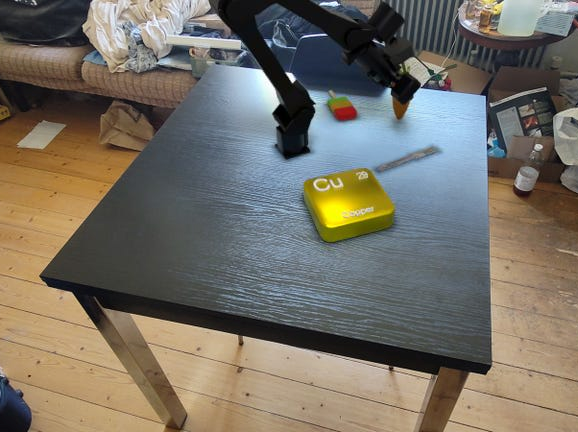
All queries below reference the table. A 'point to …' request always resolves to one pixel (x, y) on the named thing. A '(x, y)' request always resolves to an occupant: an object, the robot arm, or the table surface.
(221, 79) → the table surface
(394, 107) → the carrot
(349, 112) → the popsicle
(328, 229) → the element tile
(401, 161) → the thin grey rod
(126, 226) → the table surface
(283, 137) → the robot arm
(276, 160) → the table surface
